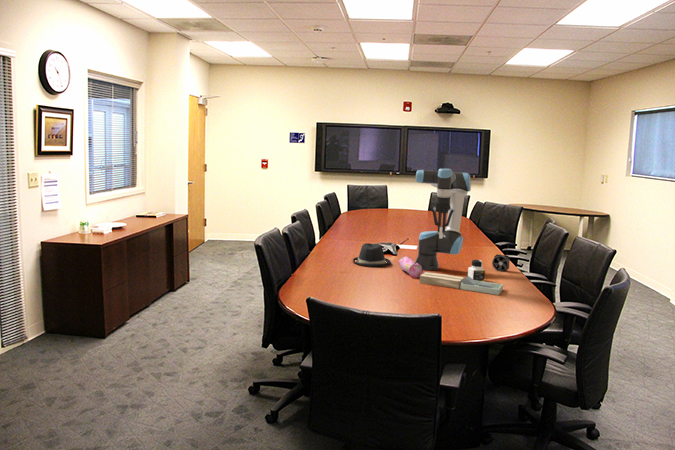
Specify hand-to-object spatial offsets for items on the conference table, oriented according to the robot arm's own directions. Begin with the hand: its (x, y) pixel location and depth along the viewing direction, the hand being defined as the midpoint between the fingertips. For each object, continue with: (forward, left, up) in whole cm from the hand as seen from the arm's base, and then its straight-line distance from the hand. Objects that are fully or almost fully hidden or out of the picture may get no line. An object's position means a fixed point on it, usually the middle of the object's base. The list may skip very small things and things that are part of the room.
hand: (440, 237), depth 290 cm
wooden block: (+6, +4, -25) cm, 26 cm away
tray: (+6, +26, -25) cm, 36 cm away
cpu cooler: (-50, +27, -25) cm, 62 cm away
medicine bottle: (-13, +19, -25) cm, 34 cm away
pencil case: (-6, -19, -25) cm, 32 cm away
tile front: (+6, +28, -21) cm, 35 cm away
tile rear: (+6, +20, -20) cm, 29 cm away
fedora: (-21, -50, -25) cm, 59 cm away
